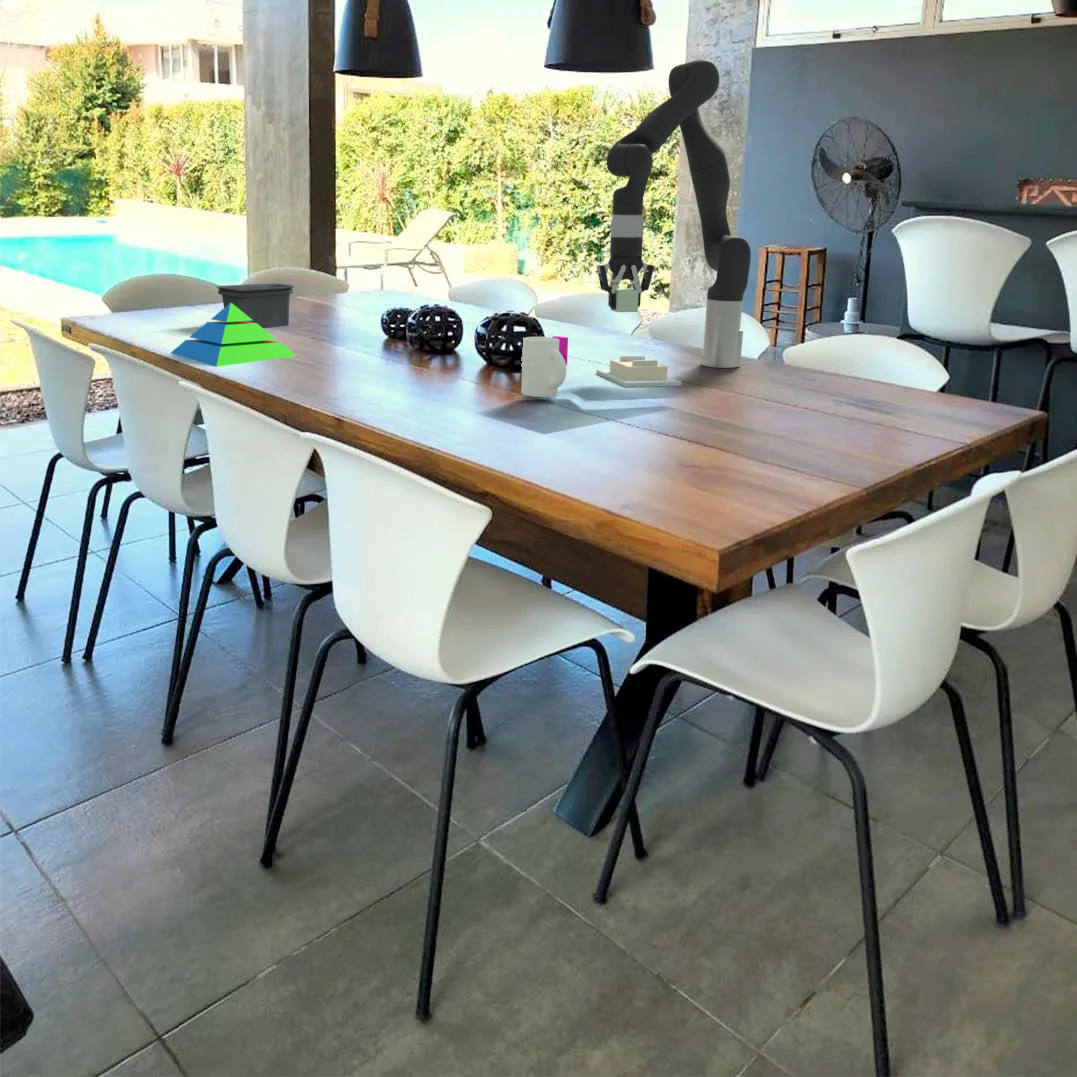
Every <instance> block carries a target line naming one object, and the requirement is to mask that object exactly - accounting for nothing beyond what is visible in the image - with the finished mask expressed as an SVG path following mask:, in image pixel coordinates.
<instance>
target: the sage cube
mask: <svg viewBox="0 0 1077 1077" xmlns="http://www.w3.org/2000/svg"><path fill="white" fill-rule="evenodd" d="M610 311H612V312H616V313H638V311H639V307H638V290H635V289H633V288H617V290H616V310H612V309H611V308H610Z"/></svg>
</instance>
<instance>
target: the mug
mask: <svg viewBox="0 0 1077 1077" xmlns="http://www.w3.org/2000/svg"><path fill="white" fill-rule="evenodd" d="M522 339H523V348H522V357H521V361H522V363H521V367H522V369H521V394H522V395H523V396H525V397H526V396H527V397H533V398H535V397H536V398H547V397H548V398H549V397H556V396H557V395H558V393H559V392H558V390H559V387H561V386H562V385H563V383H564V381H565V379H566V378H567V377H566V376H567V365H566V363H565V360H564V358H563V356H562V354H561V353H560V352H559V339H557V338H552V337H549V336H527V337H523V338H522Z"/></svg>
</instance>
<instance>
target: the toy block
mask: <svg viewBox="0 0 1077 1077" xmlns="http://www.w3.org/2000/svg"><path fill="white" fill-rule="evenodd" d="M551 338H557V339H559V352H560V353H561V354H562V356H563V358H564V360H565V363H566V366H568V351H569V350H568V349H569V337H567V336H561V335H560V336H559V335H553V336H552V337H551Z"/></svg>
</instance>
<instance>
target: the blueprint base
mask: <svg viewBox="0 0 1077 1077" xmlns="http://www.w3.org/2000/svg"><path fill="white" fill-rule="evenodd" d="M658 361H659V360H657V359H646V356H645V355H642V354H641V355H620V359H610V362H609V369H596V370H595V371H596V373H595V374H596V375H598V376H600V377H603V378H605V379H606V380H609V381H611V382H614V383H615V384H619V385H621V386H623V387H625V388H640V387H641V388H642V387H643V388H645V387H647V388H648V387H652V388H653V387H681V386H682V381H680V380H678V379H675V378H673V377H671V376H668V368H669V367H668V366H667V365H664V364H662V363H659V362H658Z"/></svg>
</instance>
